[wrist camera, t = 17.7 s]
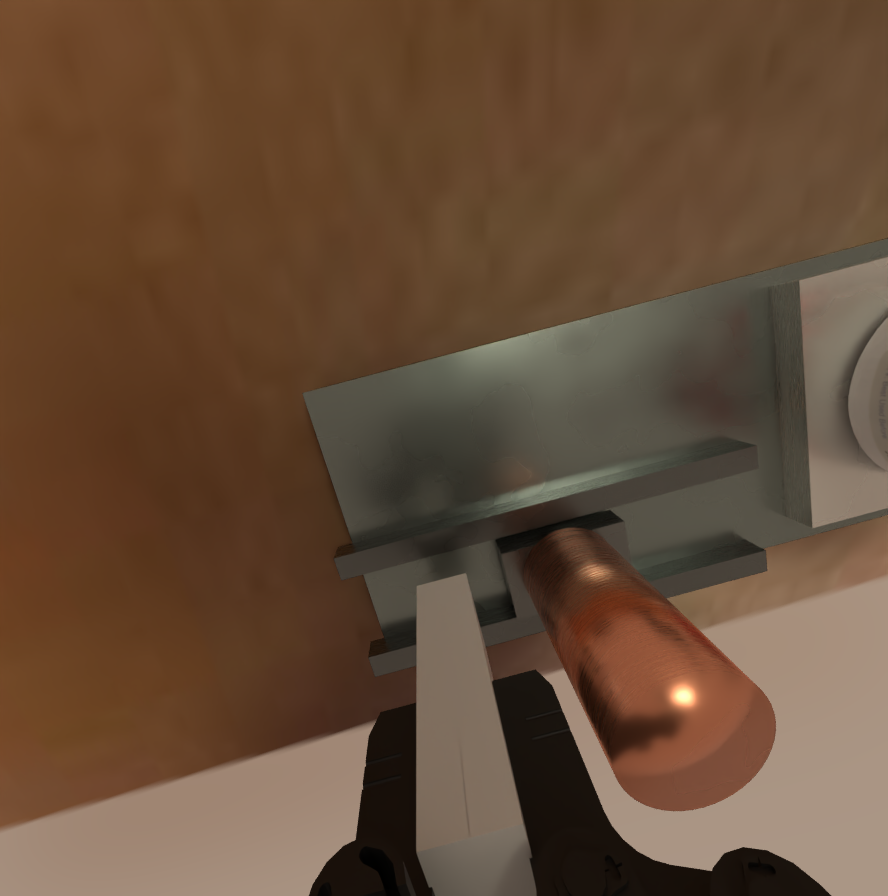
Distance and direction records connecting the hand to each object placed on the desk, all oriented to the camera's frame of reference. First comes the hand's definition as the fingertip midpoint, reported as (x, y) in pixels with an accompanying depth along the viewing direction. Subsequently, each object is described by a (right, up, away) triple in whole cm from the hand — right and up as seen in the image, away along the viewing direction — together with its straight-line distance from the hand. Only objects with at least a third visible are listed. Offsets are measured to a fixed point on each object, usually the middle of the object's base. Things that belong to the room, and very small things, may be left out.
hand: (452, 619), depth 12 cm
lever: (+4, +1, +2) cm, 4 cm away
